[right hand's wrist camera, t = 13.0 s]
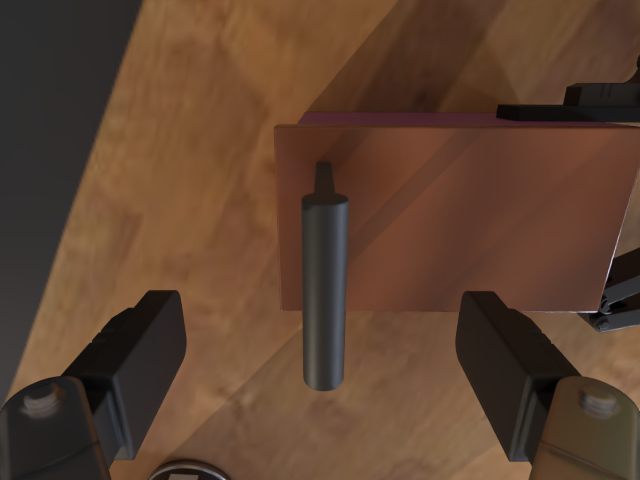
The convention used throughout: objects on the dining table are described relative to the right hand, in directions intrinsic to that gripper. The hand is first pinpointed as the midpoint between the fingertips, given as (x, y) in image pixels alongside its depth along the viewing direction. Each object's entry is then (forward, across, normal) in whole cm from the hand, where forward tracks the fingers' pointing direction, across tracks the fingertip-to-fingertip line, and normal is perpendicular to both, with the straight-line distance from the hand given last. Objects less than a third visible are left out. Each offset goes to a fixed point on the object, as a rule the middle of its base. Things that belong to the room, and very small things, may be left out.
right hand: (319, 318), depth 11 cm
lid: (+9, -6, 0) cm, 11 cm away
